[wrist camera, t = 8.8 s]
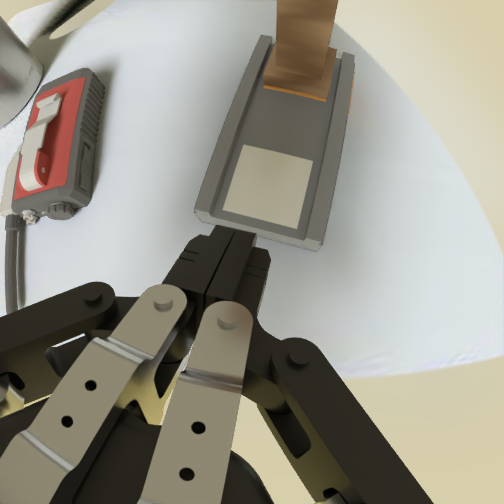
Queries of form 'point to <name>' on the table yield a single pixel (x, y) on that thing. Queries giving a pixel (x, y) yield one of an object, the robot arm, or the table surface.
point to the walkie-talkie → (51, 161)
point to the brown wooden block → (303, 47)
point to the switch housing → (278, 156)
